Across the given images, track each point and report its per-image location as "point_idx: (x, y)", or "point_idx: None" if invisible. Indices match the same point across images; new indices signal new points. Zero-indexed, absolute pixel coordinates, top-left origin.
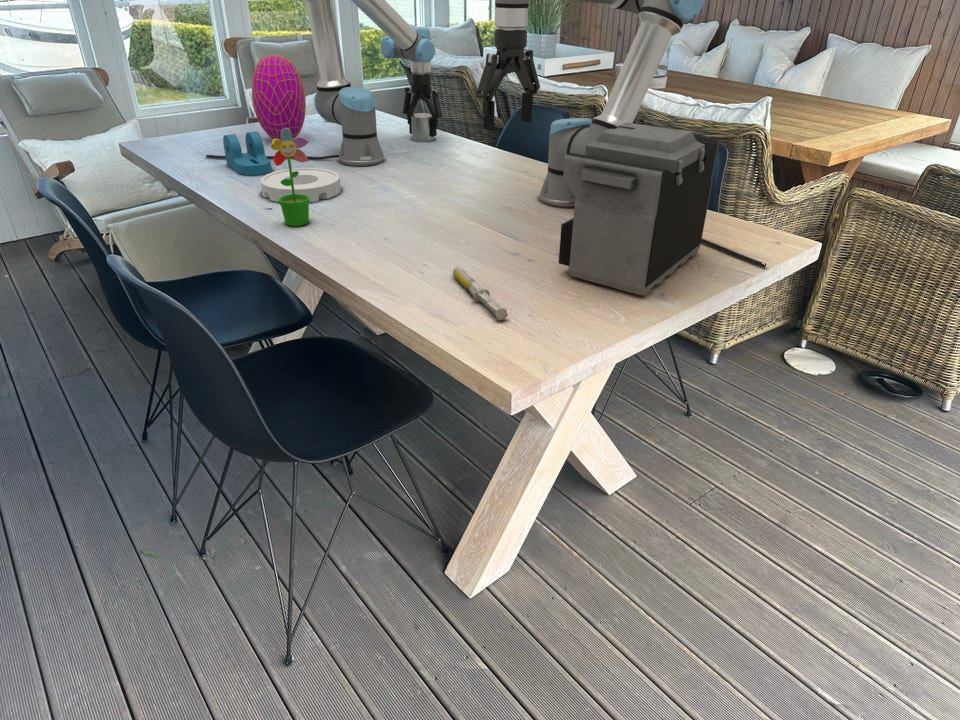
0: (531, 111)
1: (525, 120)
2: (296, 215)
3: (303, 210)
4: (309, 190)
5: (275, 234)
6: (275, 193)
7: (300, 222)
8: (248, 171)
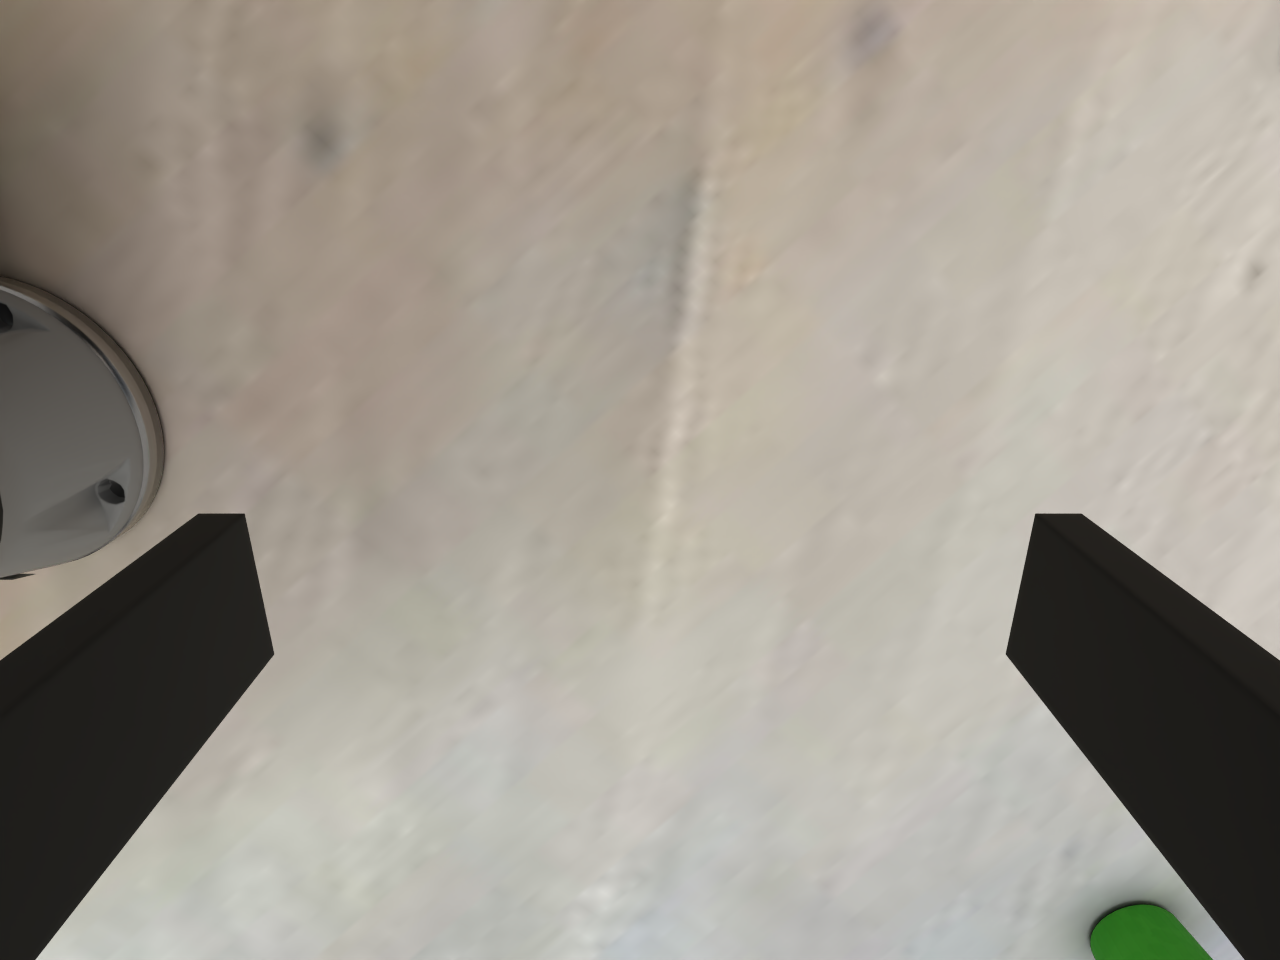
0: (102, 591)
1: (250, 590)
2: (1196, 945)
3: (1180, 954)
4: None
5: None
6: None
7: (1163, 915)
8: None
